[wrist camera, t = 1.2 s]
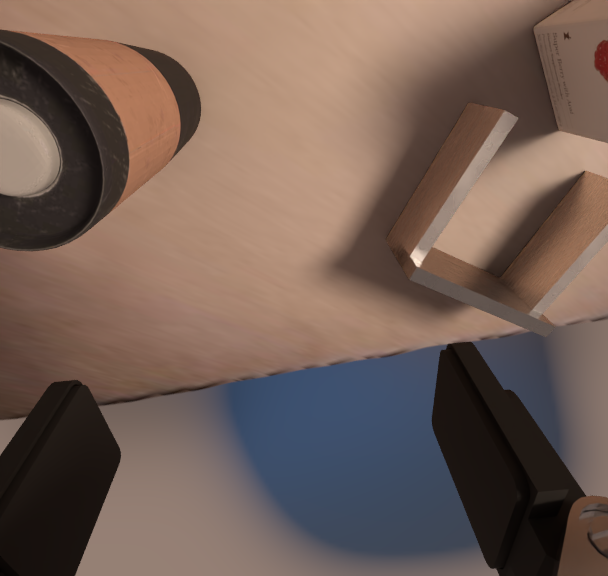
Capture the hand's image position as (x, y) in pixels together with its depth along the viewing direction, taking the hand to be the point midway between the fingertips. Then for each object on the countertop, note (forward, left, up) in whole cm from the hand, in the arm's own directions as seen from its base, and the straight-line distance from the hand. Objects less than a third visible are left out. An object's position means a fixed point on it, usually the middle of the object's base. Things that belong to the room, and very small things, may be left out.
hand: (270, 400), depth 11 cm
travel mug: (-1, -11, -27) cm, 29 cm away
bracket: (-5, +19, -27) cm, 33 cm away
